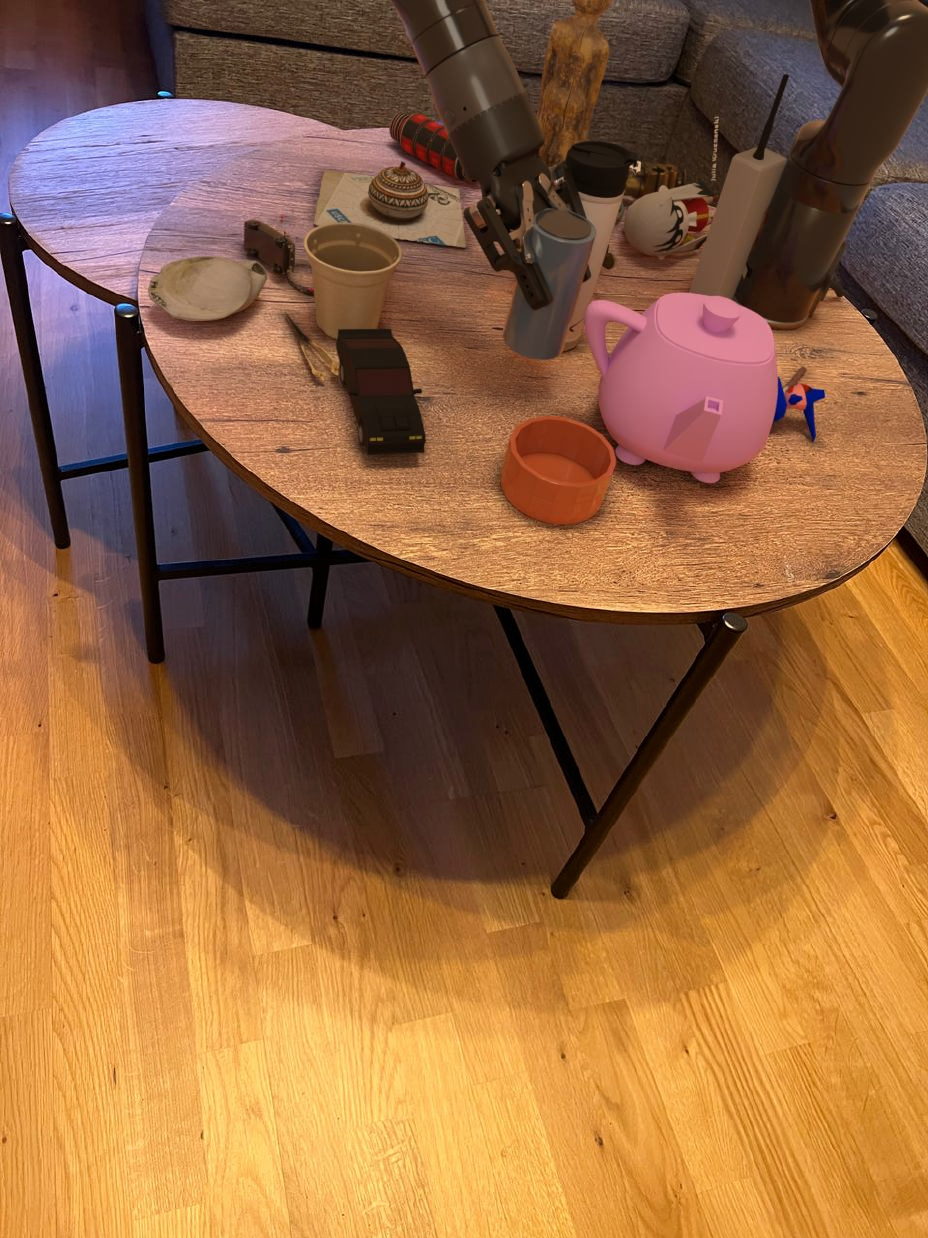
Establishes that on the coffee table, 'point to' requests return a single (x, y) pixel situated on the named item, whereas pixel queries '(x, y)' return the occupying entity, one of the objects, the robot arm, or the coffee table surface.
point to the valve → (654, 179)
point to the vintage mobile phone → (739, 213)
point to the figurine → (798, 403)
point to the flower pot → (350, 274)
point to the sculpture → (571, 79)
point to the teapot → (686, 382)
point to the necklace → (310, 290)
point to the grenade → (426, 142)
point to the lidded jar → (393, 205)
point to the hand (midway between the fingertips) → (563, 293)
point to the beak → (318, 349)
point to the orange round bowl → (557, 469)
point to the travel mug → (597, 208)
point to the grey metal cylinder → (551, 284)
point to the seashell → (206, 287)
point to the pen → (795, 378)
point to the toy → (670, 218)
